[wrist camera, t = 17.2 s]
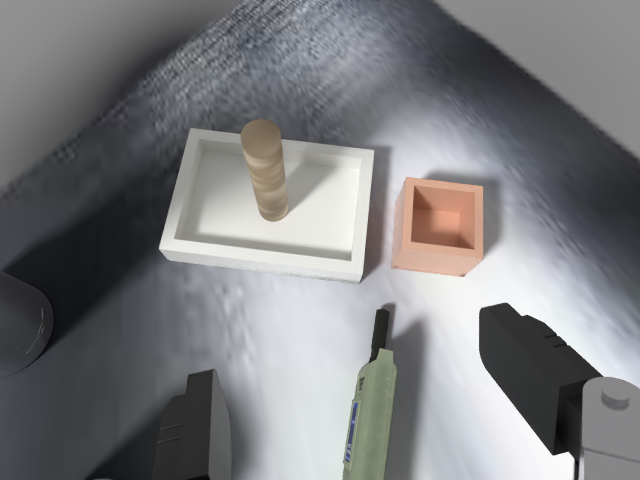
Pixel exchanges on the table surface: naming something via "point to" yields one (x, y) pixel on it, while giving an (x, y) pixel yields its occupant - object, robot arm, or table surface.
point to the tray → (265, 236)
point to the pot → (438, 227)
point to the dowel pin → (266, 167)
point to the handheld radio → (372, 410)
